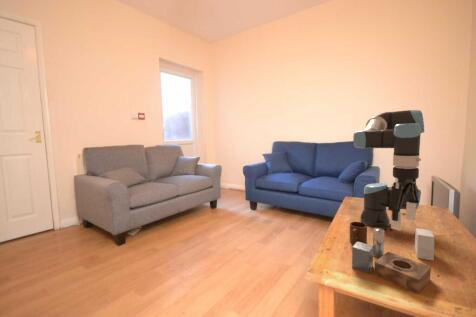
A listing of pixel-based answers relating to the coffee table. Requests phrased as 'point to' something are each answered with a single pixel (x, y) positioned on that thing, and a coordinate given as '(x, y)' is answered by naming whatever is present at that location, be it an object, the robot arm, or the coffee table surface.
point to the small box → (424, 244)
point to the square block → (362, 257)
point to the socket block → (403, 271)
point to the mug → (358, 232)
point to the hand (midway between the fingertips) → (403, 224)
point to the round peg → (378, 242)
